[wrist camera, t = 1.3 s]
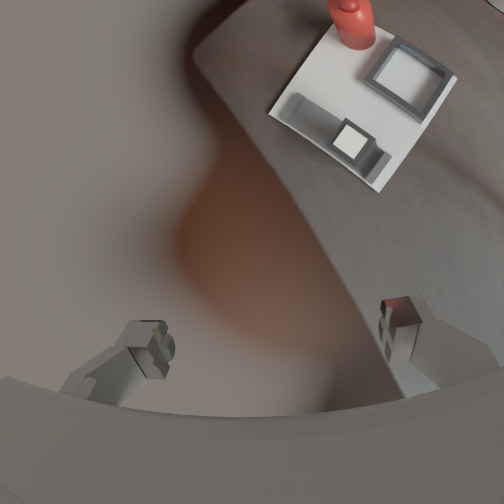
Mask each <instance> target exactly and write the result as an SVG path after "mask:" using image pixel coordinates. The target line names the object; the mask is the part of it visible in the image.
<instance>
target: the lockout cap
mask: <svg viewBox="0 0 504 504" xmlns="http://www.w3.org/2000/svg"><path fill="white" fill-rule="evenodd" d="M327 7H328V10H329V13H330V15H331V17H332V19H333V22H334V24H335V27H336V29H337V31H338V34H339V36H340V39H341V41H342V42H343V44H344V45H345V46H347V47H348V48H350V49H353V50H366V49H369V48H370V47H372V46H373V45H374V43H375V41H376V34H375V27H374V20H373V14H372V8H371V4H370V2H369V0H328V3H327Z"/></svg>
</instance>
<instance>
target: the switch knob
mask: <svg viewBox="0 0 504 504" xmlns="http://www.w3.org/2000/svg"><path fill="white" fill-rule="evenodd" d="M326 146H327V147H328V148H329V149H331V150H332V151H334V152H335V153H336V154H338V155H339V156H340V157H342V158H343V159H344V160H346V161H347V162H348V163H350V164H351V165H352V166H354V167H355V168H356V169H358V170H359V171H361V172H362V171H363V169H364V168H365V167H366V165H367V164H368V163H369V161H370V160H371V158H372V157H373V156H374V154H375V153H376V151H377V143H376V139H375V138H374V137H373V136H371V135H370V134H369V133H367V132H366V131H365V130H363V129H362V128H360V127H359V126H357V125H356V124H355V123H353V122H352V121H350V120H349V119H347V118H346V117H345V119H344V120H343V122H342V123H341V124H340V126H339V127H338V129H337V130H336V131H335V133H334V134H333V136H332V137H331V139H330V140H329V141H328V143H327V144H326Z"/></svg>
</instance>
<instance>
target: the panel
mask: <svg viewBox="0 0 504 504" xmlns="http://www.w3.org/2000/svg"><path fill="white" fill-rule="evenodd" d="M374 27H375V34H376V41H375V43H374V45H373V46H372V47H370V48H369V49H366V50H353V49H350V48H348V47H347V46H345V45H344V44H343V42H342V41H341V39H340V36H339V34H338V31H337V29H336V27H335V24H334V23H333V24H332V26H331V27H330V28H329V30H328V31H327V32H326V34H325V35H324V36H323V37H322V39H321V40H320V41H319V43H318V44H317V46H316V47H315V48H314V50H313V51H312V52H311V54H310V55H309V56H308V58H307V59H306V61H305V62H304V63H303V65H302V66H301V68H300V69H299V70H298V72H297V73H296V75H295V76H294V77H293V79H292V80H291V82H290V83H289V85H288V86H287V87H286V89H285V90H284V92H283V93H282V95H281V96H280V98H279V99H278V101H277V102H276V104H275V105H274V107H273V108H272V110H271V111H270V113H269V115H271V116H272V117H274V118H276V119H277V120H279V121H280V122H282V123H284V124H285V125H287V126H288V127H290V128H291V129H293V130H294V131H296V132H297V133H299V134H300V135H302V136H303V137H305V138H306V139H308V140H309V141H311V142H312V143H313V144H315V145H316V146H318V147H319V148H321V149H322V150H323V151H325V152H326V153H328V154H329V155H330V156H332V157H333V158H334V159H336V160H337V161H338V162H340V163H341V164H342V165H344V166H345V167H346V168H348V169H349V170H350V171H352V172H353V173H354V174H355V175H357V176H358V177H359V178H361V179H362V180H363V181H364V182H366V183H367V184H368V185H369V186H370V187H372V188H373V189H374V190H375V191H377V192H378V193H379V192H380V191H381V189H382V188H383V187H384V185H385V184H386V183H387V181H388V180H389V179H390V177H391V176H392V175H393V173H394V172H395V171H396V169H397V168H398V166H399V165H400V164H401V162H402V161H403V160H404V158H405V157H406V155H407V154H408V153H409V151H410V150H411V148H412V147H413V145H414V144H415V143H416V141H417V140H418V138H419V137H420V135H421V134H422V132H423V131H424V130H425V128H426V127H427V125H428V124H429V122H430V121H431V119H432V118H433V116H434V115H435V113H436V112H437V110H438V109H439V107H440V105H441V104H442V102H443V101H444V99H445V98H446V96H447V95H448V93H449V91H450V90H451V88H452V87H453V85H454V83H455V82H456V80H457V78H456V77H455V76H452V78H451V79H450V81H449V83H448V84H447V86H446V87H445V89H444V90H443V92H442V94H441V95H440V97H439V98H438V100H437V101H436V103H435V104H434V106H433V107H432V109H431V110H430V112H429V113H428V115H427V116H426V118H425V119H424V121H423V122H422V124H419V123H418V122H417V121H416V120H414V119H413V118H412V117H410V116H409V115H408V114H406V113H405V112H404V111H402V110H401V109H400V108H398V107H397V106H395V105H394V104H393V103H391V102H390V101H388V100H387V99H385V98H384V97H382V96H381V95H379V94H378V93H376V92H375V91H373V90H372V89H370V88H369V87H367V86H366V85H365V84H364V79H365V77H366V76H367V75H368V73H369V72H370V70H371V69H372V68H373V66H374V65H375V63H376V62H377V61H378V59H379V58H380V56H381V55H382V54H383V52H384V51H385V49H386V48H387V47H388V45H389V44H390V42H391V41H392V40H393V38H394V37H395V36H393V35H391V34H390V33H388V32H386V31H384V30H382V29H380V28H378V27H376V26H374ZM442 79H443V78H442V77H440V76H439V75H438V74H436V73H435V72H434V71H432V70H431V69H429V68H428V67H427V66H425V65H424V64H422V63H421V62H419V61H418V60H416V59H415V58H413V57H412V56H410V55H408V54H407V53H405V52H404V51H402V50H400V49H399V48H398V50H397V51H396V52H395V54H394V55H393V57H392V58H391V60H390V61H389V62H388V64H387V65H386V67H385V68H384V69H383V71H382V72H381V74H380V75H379V77H378V78H377V79H376V81H377V82H378V83H380V84H381V85H383V86H385V87H386V88H388V89H389V90H391V91H392V92H393V93H395V94H396V95H398V96H399V97H401V98H402V99H403V100H405V101H406V102H408V103H409V104H410V105H412V106H413V107H414V108H416V109H417V110H418V111H420V112H421V111H422V110H423V108H424V107H425V105H426V104H427V102H428V101H429V99H430V98H431V96H432V95H433V93H434V92H435V90H436V89H437V87H438V85H439V84H440V82H441V81H442ZM345 117H346V118H347V119H349V120H350V121H352V122H353V123H355V124H356V125H357V126H359V127H360V128H362V129H363V130H365V131H366V132H367V133H369V134H370V135H371V136H373V137H374V138H375V139H376V143H377V151H376V153H375V154H374V156H373V157H372V158H371V160H370V161H369V163H368V164H367V165H366V167H365V168H364V169H363V171H362V172H361V171H359V170H358V169H356V168H355V167H354V166H352V165H351V164H350V163H348V162H347V161H346V160H344V159H343V158H342V157H340V156H339V155H338V154H336V153H335V152H334V151H332V150H331V149H329V148H328V147H327V146H326V144H327V143H328V141H329V140H330V139H331V137H332V136H333V134H334V133H335V131H336V130H337V129H338V127H339V126H340V124H341V123H342V122H343V120H344V119H345Z"/></svg>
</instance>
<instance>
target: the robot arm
mask: <svg viewBox="0 0 504 504" xmlns="http://www.w3.org/2000/svg"><path fill="white" fill-rule="evenodd" d="M487 1H488V2H490V3H491V4H492V5H493V6H494V7H496V8H497V9H499V10H500V11H502V12H503V13H504V0H487ZM380 310H381V313H382V316H381V317H380V318H379V325H378V327H379V336H380V340H381V343H382V344H384V345H385V351H384V352H385V355H386V358H387V361H388V364H389V365H392V364H397V363H403V362H408V361H410V362H411V363H412V364H413V365H414V366H415V367H416V368H418V369H419V370H420V371H421V372H422V373H423V374H425V375H426V376H427V377H428V378H429V379H430V380H431V381H433V382H434V383H435V384H436V385H437V386H438V387H440V389H439V390H436V391H432V392H429V393H425V394H421V395H417V396H414V397H409V398H405V399H401V400H397V401H392V402H387V403H382V404H377V405H372V406H366V407H360V408H354V409H348V410H341V411H333V412H325V413H315V414H305V415H293V416H273V417H213V416H212V417H211V416H195V415H194V416H193V415H181V414H171V413H161V412H153V411H145V410H138V409H131V408H126V407H120V405H121V404H122V403H123V402H124V401H125V400H126V399H127V398H128V397H129V396H130V395H132V394H133V393H134V392H135V391H136V390H137V389H138V388H139V387H140V385H142V384H143V383H144V382H145V381H146V380H147V379H164V380H165V378H166V375H167V373H168V370H169V368H170V367H169V364H168V362H170V361H171V360H172V359H173V357H174V354H175V343H174V340H173V338H172V336H171V335H170V334H168V333H167V330H168V326H167V325H166V322H165V321H163V320H131V321H129V322H128V323H127V325H126V327H125V328H124V330H123V332H122V333H121V335H120V336H119V338H118V340H117V341H116V343H115V345H114V346H110V347H109V348H107V349H106V350H104V351H103V352H101V353H100V354H98V355H97V356H96V357H94V358H92V359H91V360H89V361H88V362H86V363H85V364H83V365H82V366H80V367H79V368H77V369H76V370H74V371H73V372H71V373H70V375H69V376H68V378H67V379H66V381H65V383H64V384H63V386H62V387H61V389H60V391H59V392H55V391H51V390H48V389H45V388H41V387H38V386H35V385H32V384H29V383H26V382H23V381H20V380H18V379H15V378H12V377H10V376H4V377H1V378H0V504H504V366H503V367H501V368H500V366H499V364H498V362H497V361H496V359H495V357H494V355H493V354H492V352H491V350H490V349H489V347H488V345H486V344H484V343H482V342H481V341H479V340H477V339H475V338H473V337H472V336H470V335H468V334H466V333H464V332H462V331H460V330H459V329H457V328H455V327H453V326H451V325H449V324H447V323H446V322H444V321H442V320H436V318H435V316H434V315H433V313H432V311H431V310H430V308H429V307H428V305H427V303H426V302H425V300H424V299H423V297H422V295H421V294H419V293H418V294H413V295H408V296H404V297H399V298H393V299H387V300H382V302H381V306H380Z"/></svg>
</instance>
